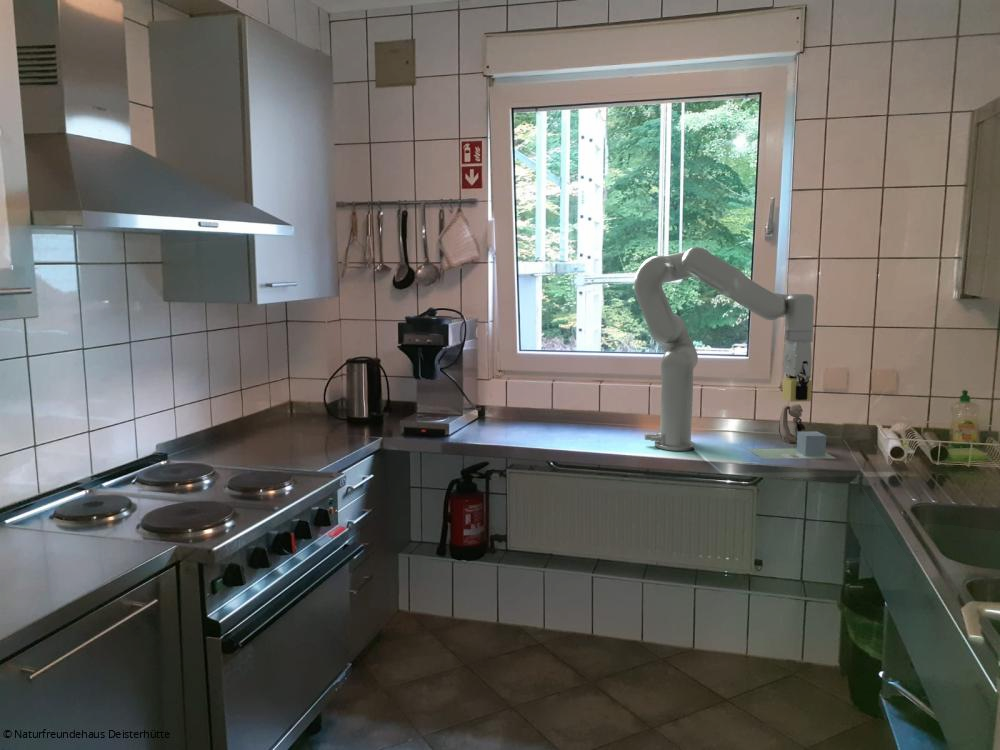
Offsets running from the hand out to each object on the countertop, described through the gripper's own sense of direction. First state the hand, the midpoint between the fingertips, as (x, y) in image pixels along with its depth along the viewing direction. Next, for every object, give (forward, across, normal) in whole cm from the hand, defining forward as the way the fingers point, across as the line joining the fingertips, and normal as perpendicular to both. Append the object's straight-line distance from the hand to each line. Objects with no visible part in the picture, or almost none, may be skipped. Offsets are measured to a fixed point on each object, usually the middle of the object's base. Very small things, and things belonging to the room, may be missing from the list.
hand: (796, 397), depth 228 cm
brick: (+1, 0, 0) cm, 1 cm away
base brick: (+17, 0, +5) cm, 18 cm away
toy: (+18, -18, +7) cm, 26 cm away
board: (+18, 0, -1) cm, 18 cm away
